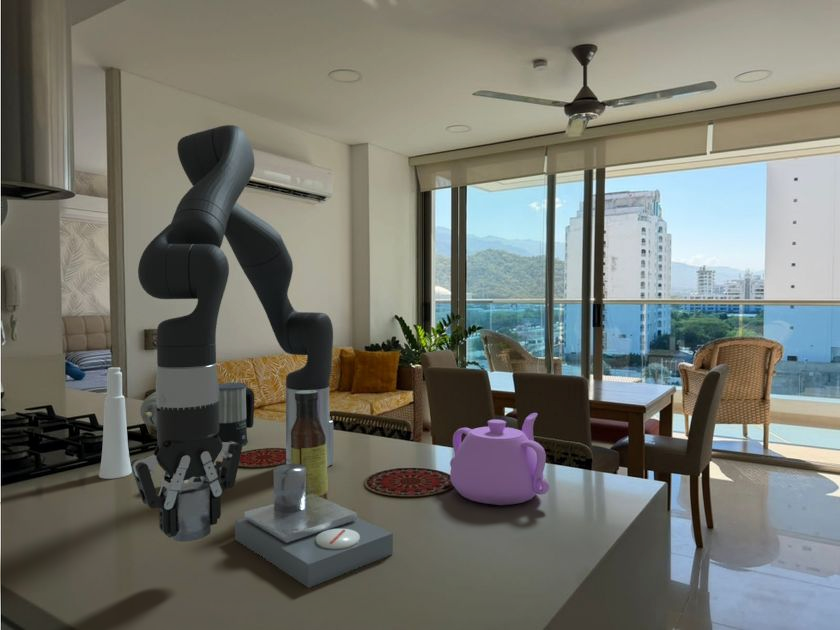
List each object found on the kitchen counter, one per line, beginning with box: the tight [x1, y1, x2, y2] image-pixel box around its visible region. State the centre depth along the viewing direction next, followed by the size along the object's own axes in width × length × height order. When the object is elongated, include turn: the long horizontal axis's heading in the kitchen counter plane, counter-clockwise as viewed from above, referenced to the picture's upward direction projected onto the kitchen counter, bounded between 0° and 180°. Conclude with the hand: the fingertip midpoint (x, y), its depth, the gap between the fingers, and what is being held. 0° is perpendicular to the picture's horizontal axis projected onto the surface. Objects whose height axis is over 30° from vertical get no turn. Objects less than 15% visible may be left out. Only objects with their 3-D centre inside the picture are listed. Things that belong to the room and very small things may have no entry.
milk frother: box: [219, 382, 255, 447], centre depth 147 cm, size 14×16×15 cm
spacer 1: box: [171, 481, 212, 542], centre depth 76 cm, size 5×5×6 cm
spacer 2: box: [273, 464, 306, 513], centre depth 89 cm, size 5×5×6 cm
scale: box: [234, 517, 394, 589], centre depth 85 cm, size 14×20×4 cm
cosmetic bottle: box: [98, 366, 133, 480], centre depth 119 cm, size 6×6×22 cm
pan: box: [243, 494, 358, 543], centre depth 87 cm, size 12×12×1 cm
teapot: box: [449, 412, 550, 506], centre depth 110 cm, size 22×22×14 cm
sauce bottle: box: [291, 390, 329, 500], centre depth 103 cm, size 7×6×20 cm
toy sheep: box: [140, 391, 157, 435], centre depth 157 cm, size 11×17×11 cm, turn 1°
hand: (190, 528), depth 76 cm, fingers closed on spacer 1, 4 cm apart
